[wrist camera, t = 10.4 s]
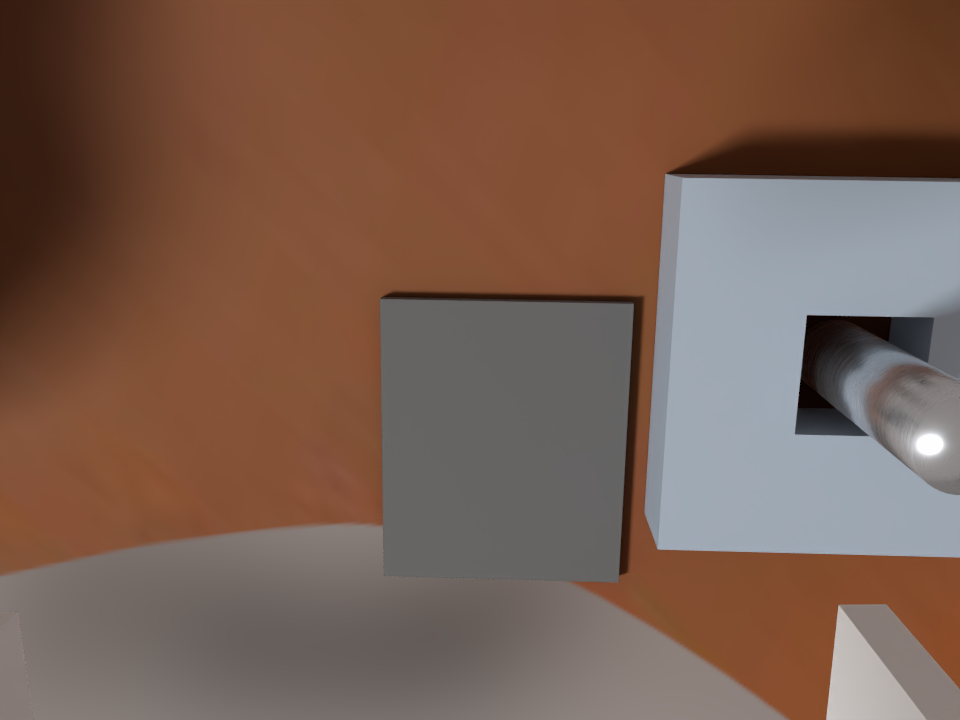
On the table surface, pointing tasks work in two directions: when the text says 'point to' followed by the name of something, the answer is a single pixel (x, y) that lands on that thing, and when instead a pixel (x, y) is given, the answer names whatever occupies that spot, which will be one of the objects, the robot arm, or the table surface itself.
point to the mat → (504, 437)
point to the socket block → (793, 361)
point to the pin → (889, 397)
